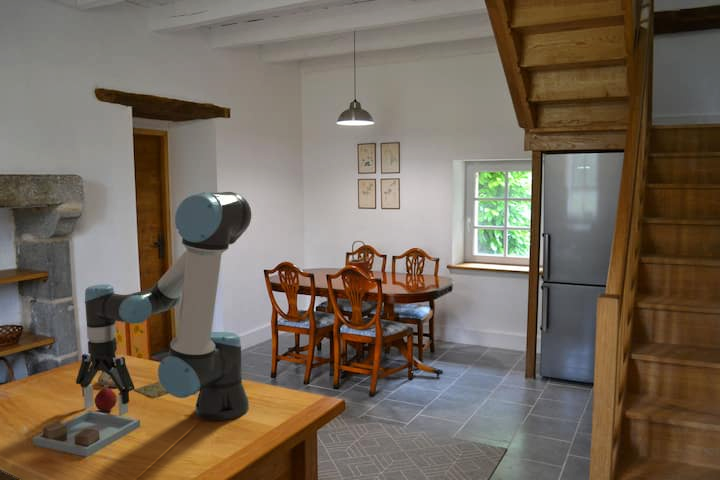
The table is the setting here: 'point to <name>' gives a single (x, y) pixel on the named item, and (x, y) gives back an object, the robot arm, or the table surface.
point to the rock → (106, 379)
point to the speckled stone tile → (152, 390)
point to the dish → (105, 423)
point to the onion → (105, 399)
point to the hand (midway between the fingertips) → (106, 410)
